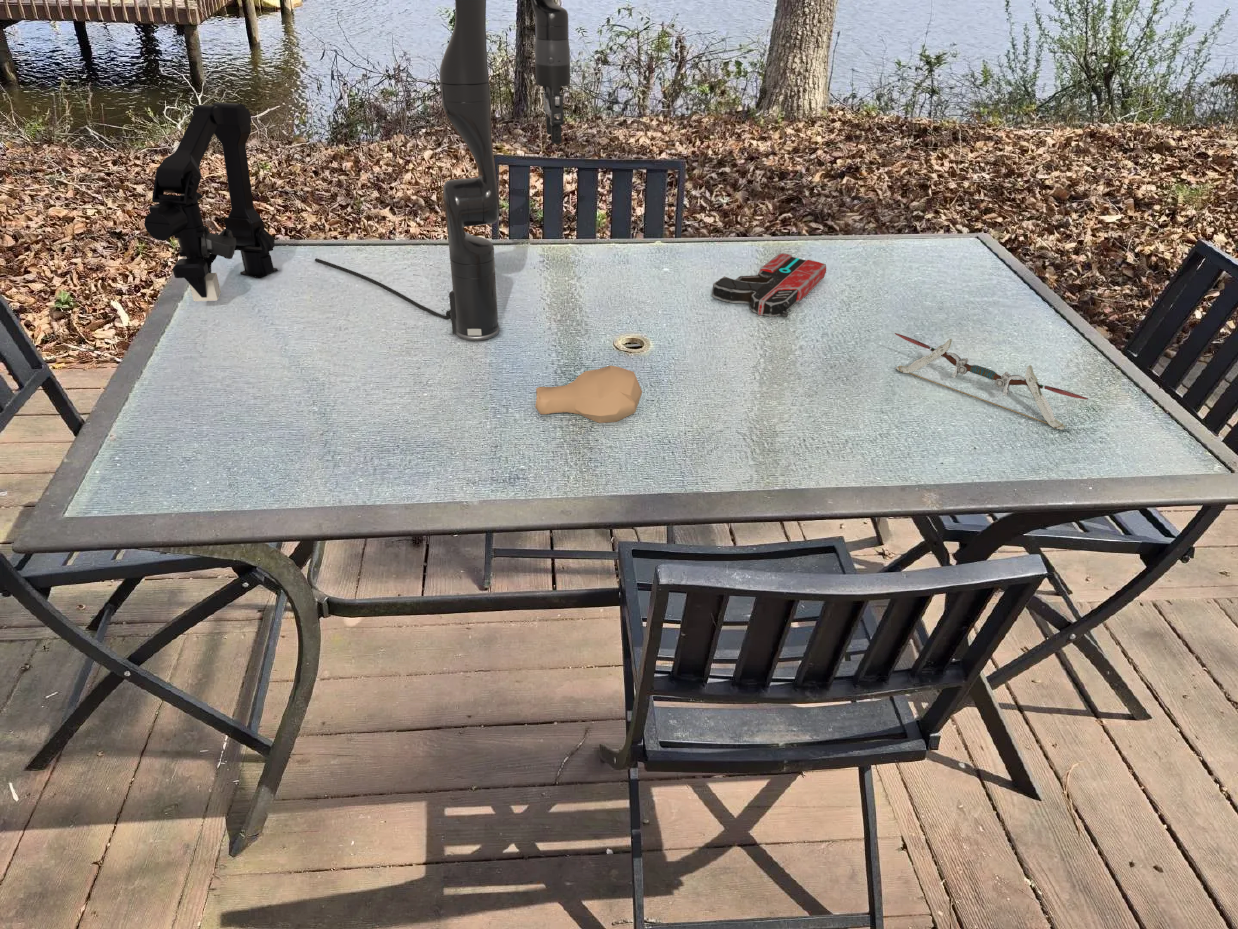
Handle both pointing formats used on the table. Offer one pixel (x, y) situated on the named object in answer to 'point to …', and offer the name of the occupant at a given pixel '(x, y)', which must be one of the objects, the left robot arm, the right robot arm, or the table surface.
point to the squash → (594, 395)
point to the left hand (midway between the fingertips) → (206, 292)
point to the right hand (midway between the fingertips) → (553, 138)
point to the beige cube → (208, 289)
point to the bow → (1000, 381)
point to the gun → (772, 285)
